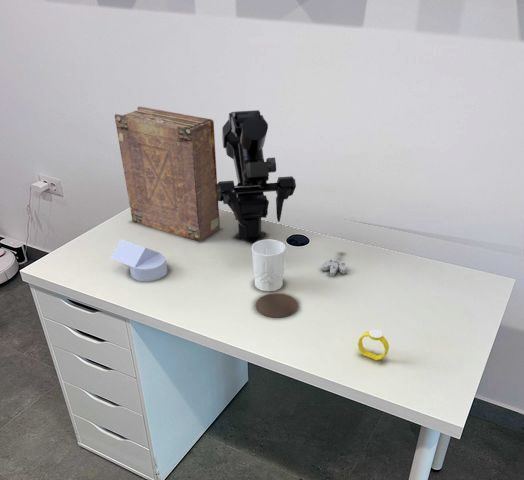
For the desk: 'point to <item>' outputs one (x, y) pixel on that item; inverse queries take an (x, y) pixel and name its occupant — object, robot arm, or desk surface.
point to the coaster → (276, 305)
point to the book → (170, 171)
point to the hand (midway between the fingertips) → (260, 222)
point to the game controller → (334, 266)
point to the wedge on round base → (140, 261)
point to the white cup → (268, 264)
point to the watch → (374, 335)
